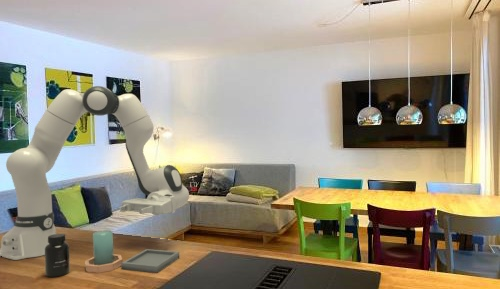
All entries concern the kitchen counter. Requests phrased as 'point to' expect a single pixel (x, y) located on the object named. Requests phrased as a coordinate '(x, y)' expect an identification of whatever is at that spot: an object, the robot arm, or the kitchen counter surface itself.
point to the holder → (105, 267)
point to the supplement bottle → (57, 256)
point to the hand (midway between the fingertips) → (130, 210)
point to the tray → (150, 260)
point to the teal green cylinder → (103, 247)
